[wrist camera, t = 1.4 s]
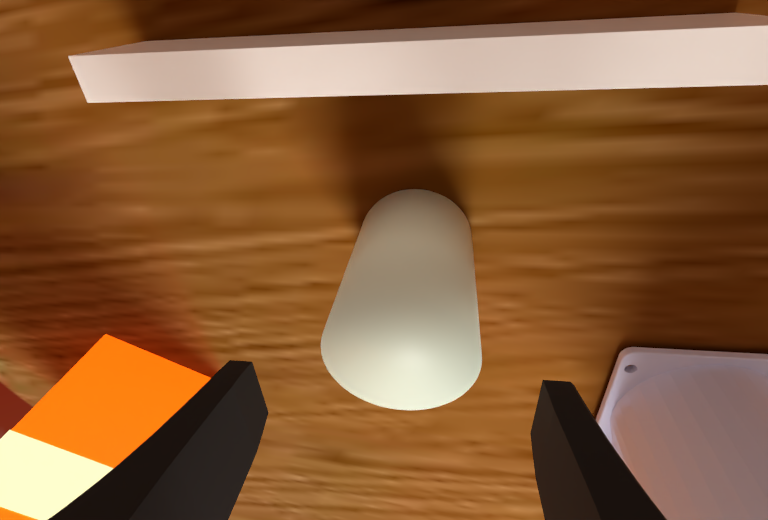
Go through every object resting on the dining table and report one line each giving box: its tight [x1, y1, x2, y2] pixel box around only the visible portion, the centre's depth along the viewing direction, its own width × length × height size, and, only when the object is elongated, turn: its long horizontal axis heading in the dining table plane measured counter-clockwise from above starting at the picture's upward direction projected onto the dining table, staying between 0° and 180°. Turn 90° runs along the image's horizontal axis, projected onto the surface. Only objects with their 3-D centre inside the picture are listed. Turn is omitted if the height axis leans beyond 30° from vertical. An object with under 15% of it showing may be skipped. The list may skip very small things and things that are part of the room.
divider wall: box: [68, 13, 768, 103], centre depth 12 cm, size 1×18×4 cm, turn 93°
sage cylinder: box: [321, 189, 482, 410], centre depth 14 cm, size 4×4×6 cm
